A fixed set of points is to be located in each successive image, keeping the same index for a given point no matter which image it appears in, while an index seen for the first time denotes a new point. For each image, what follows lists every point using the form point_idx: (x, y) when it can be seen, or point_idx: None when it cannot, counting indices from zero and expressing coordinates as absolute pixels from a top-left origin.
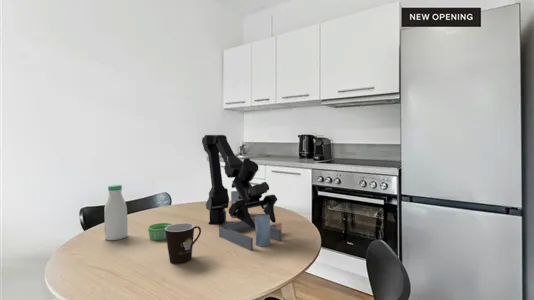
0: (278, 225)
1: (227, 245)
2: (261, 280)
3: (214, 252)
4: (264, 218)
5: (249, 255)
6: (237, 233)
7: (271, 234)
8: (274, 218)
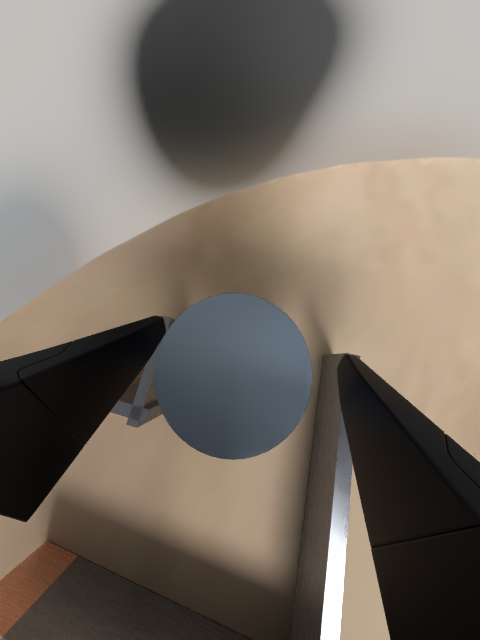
0: None
1: None
2: (467, 193)
3: None
4: (273, 308)
5: (369, 331)
6: (348, 499)
7: None
8: (142, 322)
